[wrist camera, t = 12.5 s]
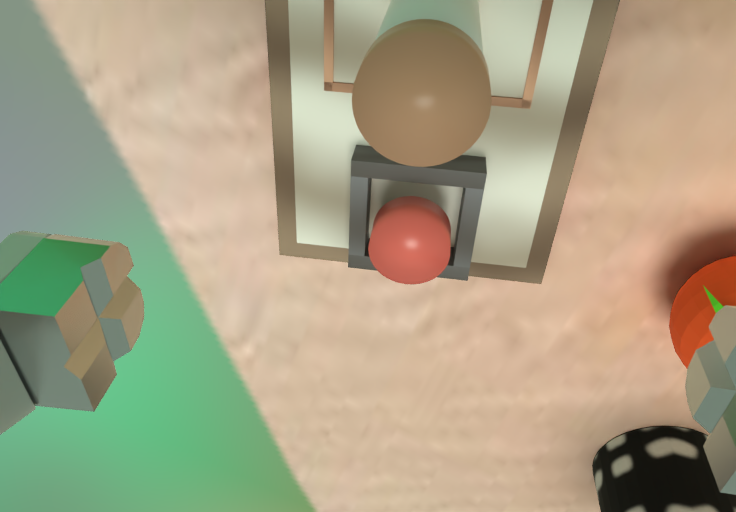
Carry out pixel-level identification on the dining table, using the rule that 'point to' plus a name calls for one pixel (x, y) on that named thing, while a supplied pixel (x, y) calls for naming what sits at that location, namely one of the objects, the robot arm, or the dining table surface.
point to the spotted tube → (658, 473)
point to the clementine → (701, 306)
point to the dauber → (424, 83)
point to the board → (448, 180)
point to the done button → (410, 240)
